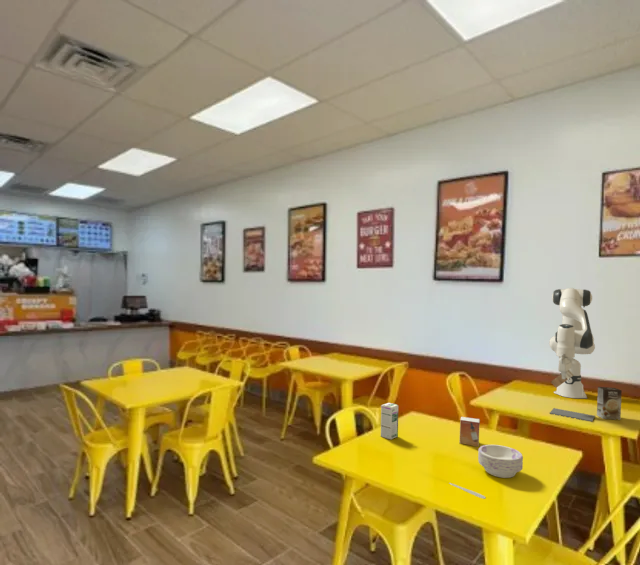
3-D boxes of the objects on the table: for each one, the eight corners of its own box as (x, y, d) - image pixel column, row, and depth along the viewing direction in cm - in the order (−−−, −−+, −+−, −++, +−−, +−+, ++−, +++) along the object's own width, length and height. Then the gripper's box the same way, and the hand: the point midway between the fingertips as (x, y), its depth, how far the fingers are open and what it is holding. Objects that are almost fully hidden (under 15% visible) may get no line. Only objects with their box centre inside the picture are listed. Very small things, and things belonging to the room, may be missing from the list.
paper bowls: (473, 462, 165) (473, 442, 165) (513, 465, 163) (514, 445, 163) (484, 480, 149) (485, 458, 149) (529, 483, 148) (529, 461, 148)
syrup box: (391, 439, 186) (392, 407, 186) (380, 436, 190) (381, 404, 190) (398, 436, 190) (399, 404, 190) (387, 433, 194) (388, 402, 194)
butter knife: (482, 499, 135) (486, 496, 137) (413, 470, 156) (418, 468, 158) (482, 501, 135) (486, 497, 137) (413, 472, 156) (418, 469, 158)
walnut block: (552, 380, 241) (568, 369, 236) (557, 386, 239) (573, 374, 234) (550, 381, 237) (566, 370, 232) (556, 387, 235) (572, 376, 230)
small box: (459, 443, 184) (460, 419, 184) (460, 439, 189) (460, 416, 189) (478, 446, 181) (479, 422, 181) (478, 442, 186) (479, 418, 186)
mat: (553, 409, 243) (553, 408, 243) (594, 416, 231) (594, 415, 231) (549, 413, 234) (549, 412, 234) (592, 421, 221) (592, 420, 221)
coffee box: (603, 418, 227) (603, 389, 227) (596, 415, 234) (597, 386, 234) (621, 420, 226) (621, 390, 227) (614, 416, 233) (614, 387, 233)
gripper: (568, 356, 225) (568, 381, 225) (574, 352, 241) (574, 376, 241) (555, 354, 229) (554, 379, 229) (562, 351, 245) (561, 374, 245)
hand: (564, 378), depth 235 cm, fingers closed on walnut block, 5 cm apart
